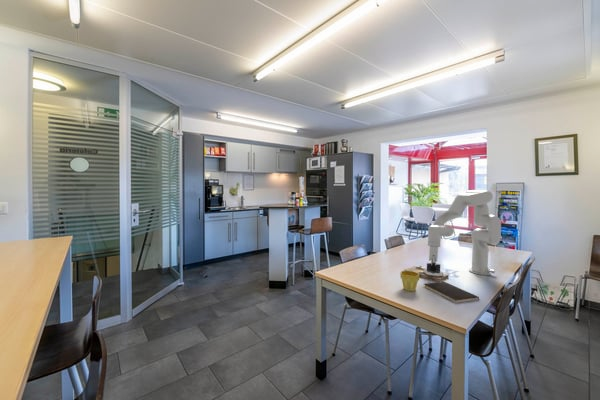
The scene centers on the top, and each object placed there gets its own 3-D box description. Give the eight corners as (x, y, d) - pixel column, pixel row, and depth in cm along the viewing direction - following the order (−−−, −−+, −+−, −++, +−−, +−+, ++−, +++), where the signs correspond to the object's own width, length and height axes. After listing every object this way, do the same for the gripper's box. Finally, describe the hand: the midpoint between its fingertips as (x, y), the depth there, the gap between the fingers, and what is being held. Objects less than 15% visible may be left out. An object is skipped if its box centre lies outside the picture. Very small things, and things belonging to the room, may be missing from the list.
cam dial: (441, 272, 176) (441, 262, 175) (445, 277, 164) (445, 267, 164) (417, 269, 181) (417, 260, 180) (419, 275, 169) (420, 264, 169)
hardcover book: (455, 304, 133) (455, 299, 133) (423, 287, 155) (423, 283, 155) (479, 300, 137) (479, 296, 137) (444, 285, 159) (444, 281, 159)
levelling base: (448, 277, 171) (448, 272, 171) (439, 282, 162) (439, 276, 162) (414, 268, 190) (414, 263, 190) (404, 272, 181) (404, 267, 181)
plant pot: (397, 285, 156) (397, 270, 156) (414, 285, 156) (414, 270, 156) (403, 292, 146) (404, 275, 145) (422, 292, 146) (422, 276, 145)
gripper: (428, 241, 180) (427, 266, 181) (427, 245, 166) (426, 273, 166) (440, 242, 176) (439, 268, 177) (440, 246, 162) (439, 274, 163)
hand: (433, 270), depth 172 cm, fingers closed on cam dial, 2 cm apart
